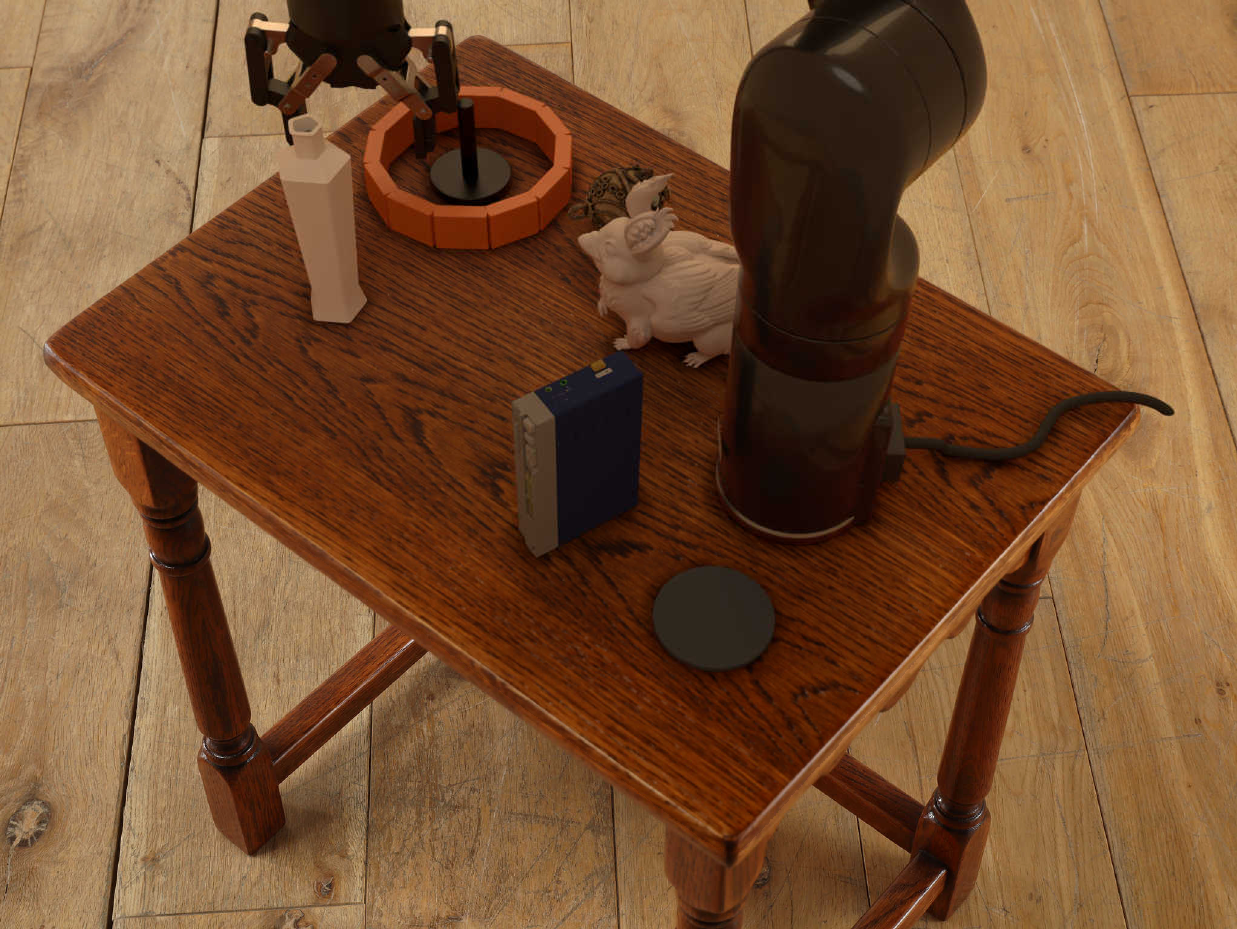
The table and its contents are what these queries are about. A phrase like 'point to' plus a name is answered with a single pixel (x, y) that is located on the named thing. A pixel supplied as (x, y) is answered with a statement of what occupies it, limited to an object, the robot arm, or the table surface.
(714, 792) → the table surface
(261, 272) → the table surface
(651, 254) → the figurine
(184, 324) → the table surface
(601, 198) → the pendant
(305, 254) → the perfume bottle
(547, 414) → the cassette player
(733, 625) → the coaster
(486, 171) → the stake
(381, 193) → the hoop
